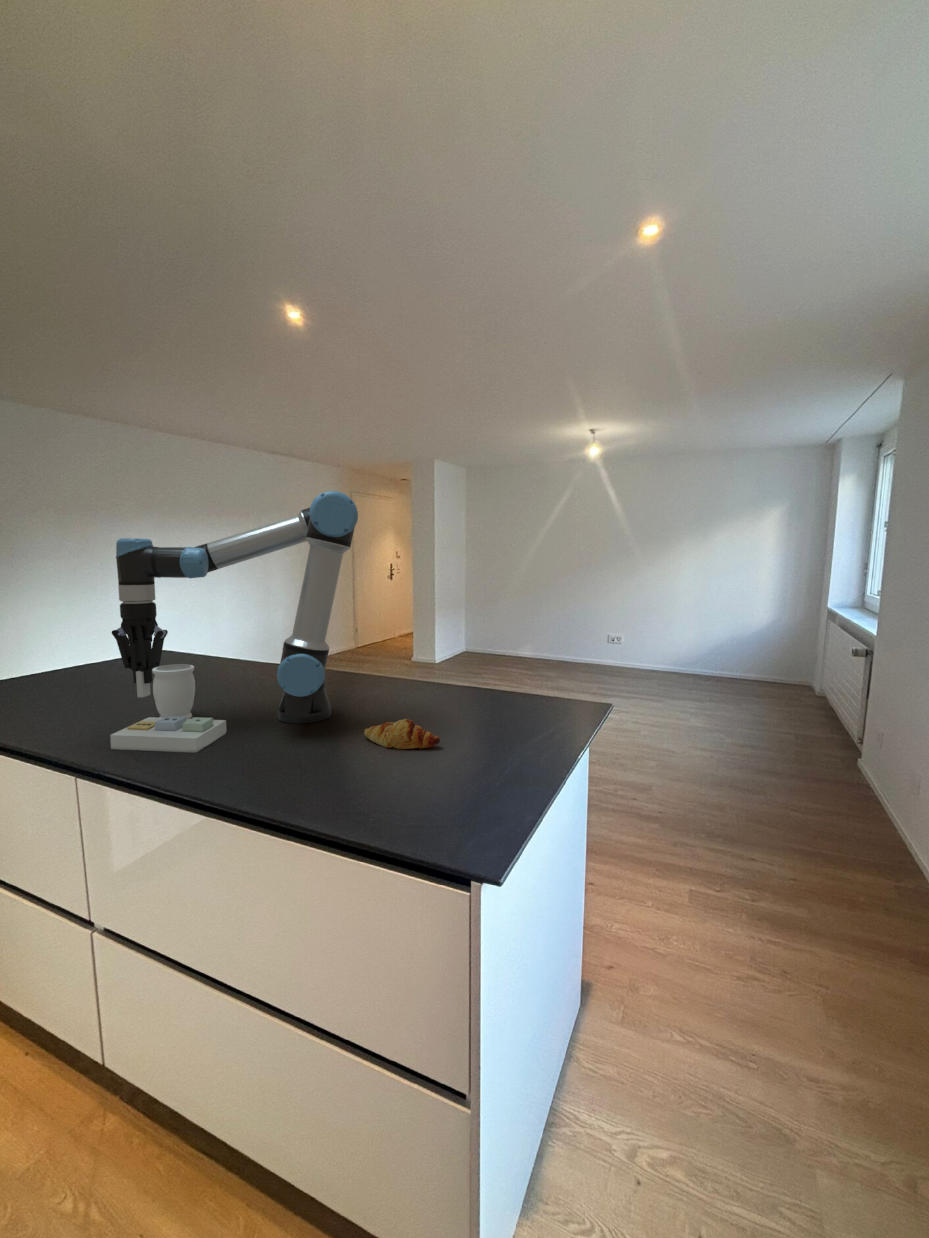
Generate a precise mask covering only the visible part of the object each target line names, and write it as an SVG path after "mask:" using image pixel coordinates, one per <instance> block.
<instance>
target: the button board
mask: <svg viewBox="0 0 929 1238" xmlns="http://www.w3.org/2000/svg"><path fill="white" fill-rule="evenodd" d="M160 719H162V718H159V717H150V716H149V717H147V718H144V719H142V720H141V721H149V722H156V721H158V720H160ZM190 719H191V718H190ZM190 719H186V721H188V720H190ZM138 722H139V721H138ZM138 722H136V723H138ZM136 723H133V724H131V725H130V726H132V725H134V724H136ZM226 734H227V720H226V719H225V720H224V719H213V727H211V728H210V729H208V730H206V731H205V732H183V727H182V728H180V729H179V730H177V731H155V727H153V728H151V729H149V730H129V729H127V727H125V728H123V729H120V730H118V731H116V732H114V733H112V734H110V737H109V738H110V749H111V750H122V751H125V750H126V751H127V750H128V751H145V752H146V751H148V752H151V751H152V752H170V753H171V752H173V753H174V752H175V753H193V754H194V753H198V752H200V751H202V750H203V749H204V748H206V747H207V746H209V745H210V744H212V743H214V742H215V741H216V740H218V739H219V738H221V737H223V736H225V735H226Z"/></svg>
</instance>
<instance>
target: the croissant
mask: <svg viewBox="0 0 929 1238" xmlns="http://www.w3.org/2000/svg"><path fill="white" fill-rule="evenodd" d="M363 734H364V737H366V738H367V739H368V740H370V741H371V742H373V743H375V744H377V745H379V746H381V747H384V748H386V749H387V748H389V749H392V748H391V747H394V748H393V749H395V748H397V749H396V750H409V749H410V750H411V749H415V748H419V749H427V748H428V749H429V748H432V747H434V746H435V745H438V744H439V743H440V740H441V739H440V736H439V735H434V734H433V733H432V732H430V731H426V730H425V729H423V727H422V726H421V725H417V724H415V722H414V721H413V720H412V719H408V718H404V719H399V720H397V721H396V722H395V721H392V722H391V721H390V722H388V721H387V722H384V723H382V724H379V725H378V724H377V725H372V726H370V727H369V728H365V730H364V732H363Z"/></svg>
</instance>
